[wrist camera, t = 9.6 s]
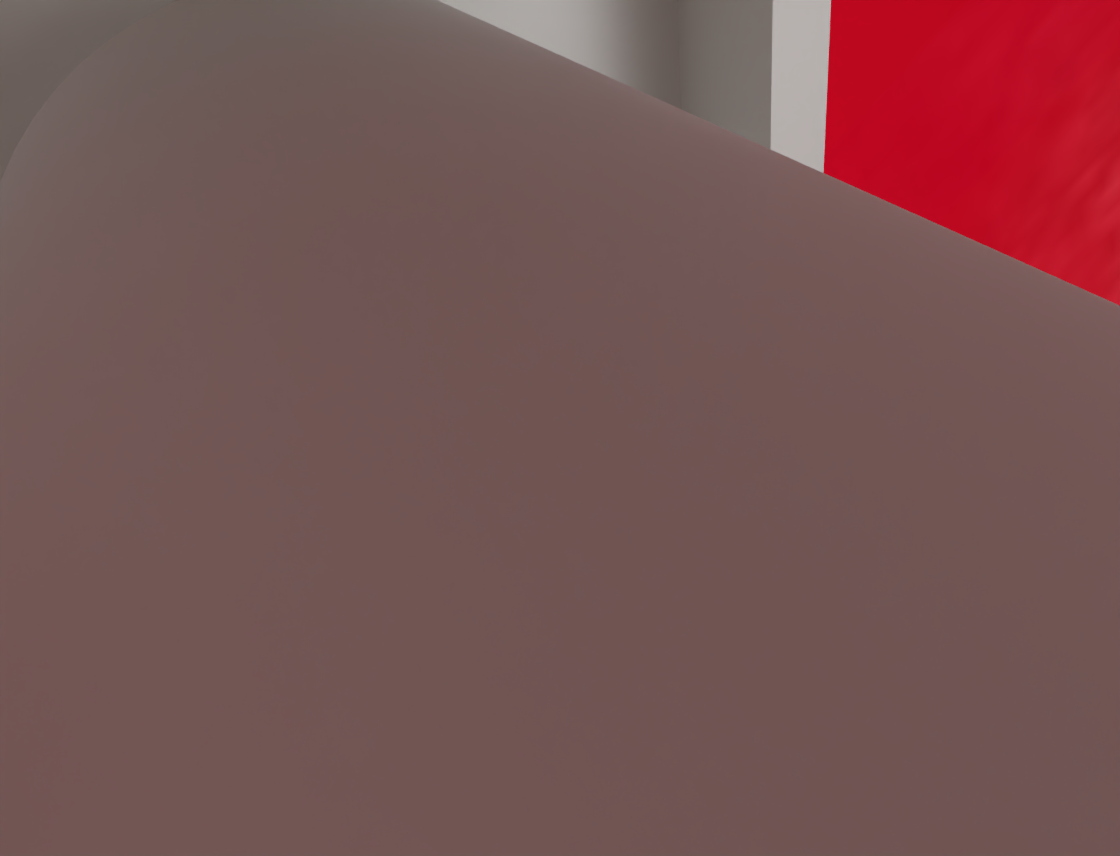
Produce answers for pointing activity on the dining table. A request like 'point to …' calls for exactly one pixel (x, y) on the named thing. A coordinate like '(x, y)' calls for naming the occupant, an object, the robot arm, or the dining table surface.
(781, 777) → the cup
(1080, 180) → the dining table surface
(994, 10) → the dining table surface
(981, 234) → the dining table surface
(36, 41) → the tray
